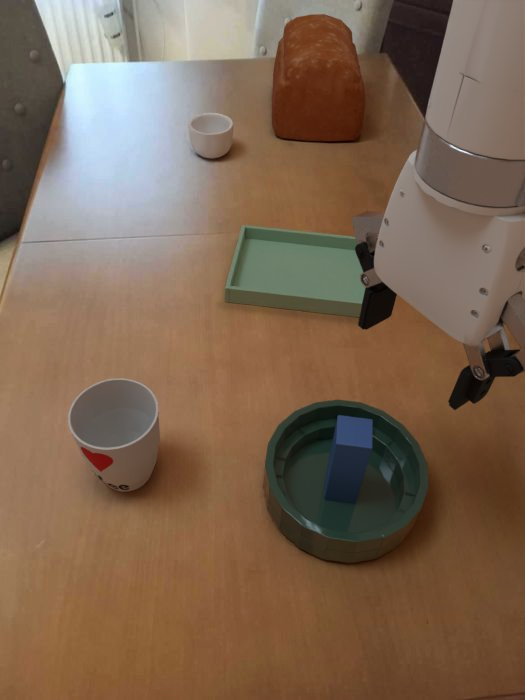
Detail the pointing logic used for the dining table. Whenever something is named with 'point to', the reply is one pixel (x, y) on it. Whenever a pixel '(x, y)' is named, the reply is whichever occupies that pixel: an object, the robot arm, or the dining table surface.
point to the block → (348, 458)
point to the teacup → (211, 134)
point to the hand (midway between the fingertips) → (417, 358)
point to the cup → (117, 431)
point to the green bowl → (375, 493)
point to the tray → (296, 271)
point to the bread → (317, 82)
